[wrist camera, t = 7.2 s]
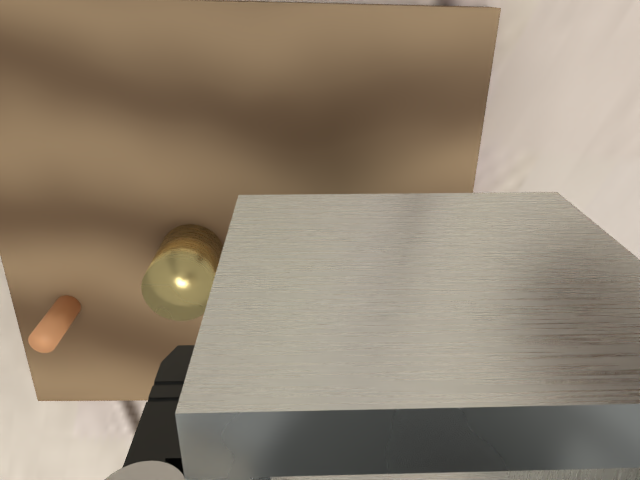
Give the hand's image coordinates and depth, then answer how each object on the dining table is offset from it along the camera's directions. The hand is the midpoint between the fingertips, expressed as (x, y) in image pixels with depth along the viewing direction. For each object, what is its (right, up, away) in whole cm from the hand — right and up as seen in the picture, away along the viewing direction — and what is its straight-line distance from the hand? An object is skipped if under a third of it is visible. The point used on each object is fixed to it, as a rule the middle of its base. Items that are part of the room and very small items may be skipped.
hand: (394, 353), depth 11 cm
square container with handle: (0, -2, +2) cm, 3 cm away
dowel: (-14, -1, +15) cm, 21 cm away
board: (-6, +3, +15) cm, 17 cm away
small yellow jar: (-8, +2, +14) cm, 16 cm away
